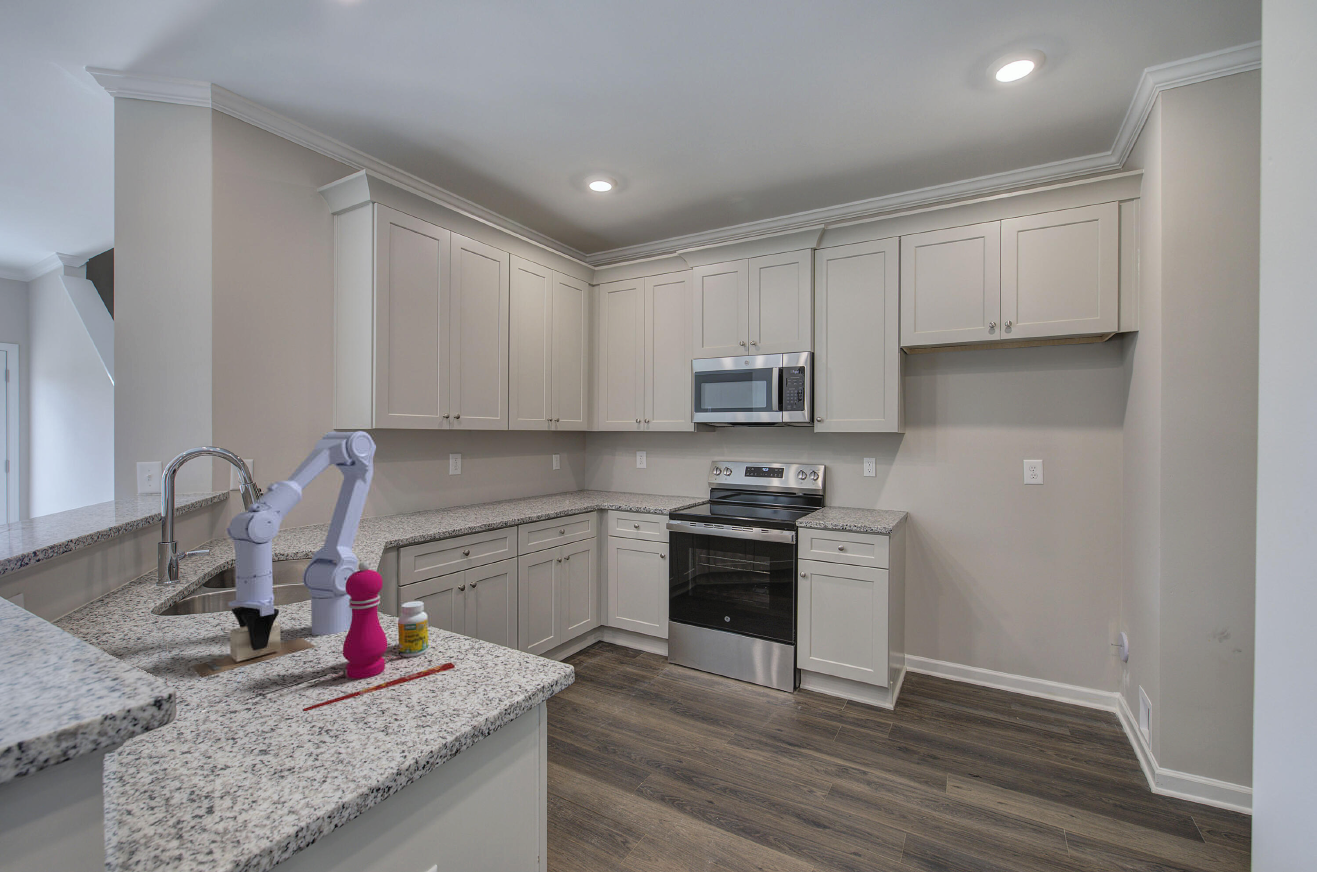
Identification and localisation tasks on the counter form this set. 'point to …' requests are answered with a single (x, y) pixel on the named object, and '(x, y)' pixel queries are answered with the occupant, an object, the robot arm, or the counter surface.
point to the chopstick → (389, 684)
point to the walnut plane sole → (230, 663)
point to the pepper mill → (364, 625)
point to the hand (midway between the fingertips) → (255, 645)
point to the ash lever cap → (242, 643)
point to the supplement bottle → (413, 629)
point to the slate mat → (286, 687)
